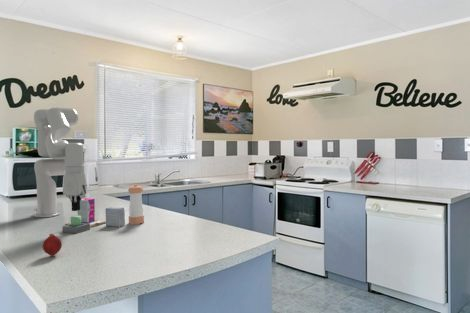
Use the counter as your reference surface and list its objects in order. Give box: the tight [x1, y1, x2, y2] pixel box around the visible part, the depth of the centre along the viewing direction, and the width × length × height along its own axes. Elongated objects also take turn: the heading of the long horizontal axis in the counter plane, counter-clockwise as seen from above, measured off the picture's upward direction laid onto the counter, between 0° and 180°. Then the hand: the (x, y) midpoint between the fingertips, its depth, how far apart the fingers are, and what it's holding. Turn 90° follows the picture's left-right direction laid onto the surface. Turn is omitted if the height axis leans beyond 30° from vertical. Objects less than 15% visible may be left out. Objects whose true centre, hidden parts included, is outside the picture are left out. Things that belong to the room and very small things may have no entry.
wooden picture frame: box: [64, 220, 106, 229], centre depth 168 cm, size 16×11×1 cm
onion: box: [42, 233, 63, 257], centre depth 119 cm, size 6×6×8 cm
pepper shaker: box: [127, 183, 145, 225], centre depth 169 cm, size 7×7×19 cm
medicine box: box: [105, 206, 126, 228], centre depth 164 cm, size 8×4×9 cm, turn 71°
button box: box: [61, 223, 91, 234], centre depth 155 cm, size 8×8×2 cm
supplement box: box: [77, 197, 96, 223], centre depth 168 cm, size 6×6×12 cm
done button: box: [70, 215, 82, 227], centre depth 155 cm, size 4×4×5 cm
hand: (75, 210), depth 154 cm, fingers closed
